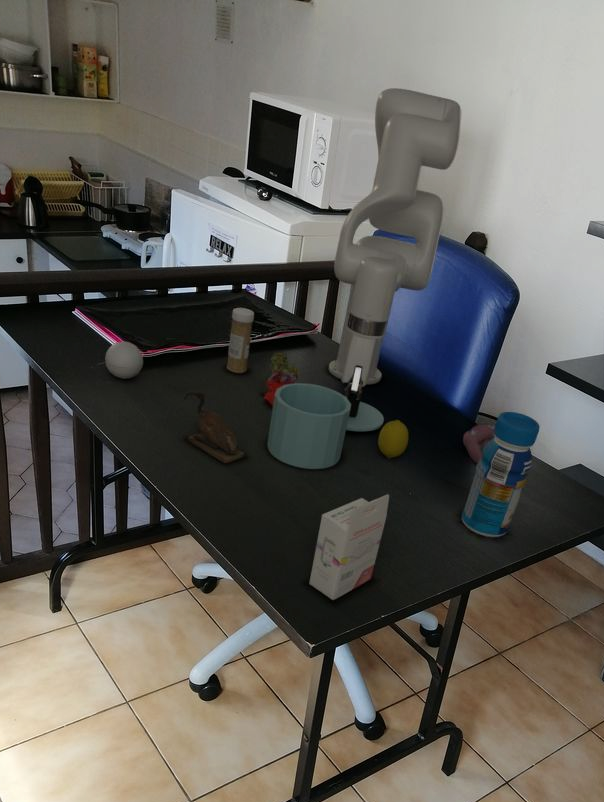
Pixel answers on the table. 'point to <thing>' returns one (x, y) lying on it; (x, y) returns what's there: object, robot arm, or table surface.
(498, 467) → the beverage bottle
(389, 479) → the table surface
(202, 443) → the figurine
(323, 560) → the ink cartridge box
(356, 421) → the lid
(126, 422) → the table surface
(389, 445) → the lemon
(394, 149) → the robot arm
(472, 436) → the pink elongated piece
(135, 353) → the white sphere
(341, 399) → the pot
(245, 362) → the sprinkles bottle
